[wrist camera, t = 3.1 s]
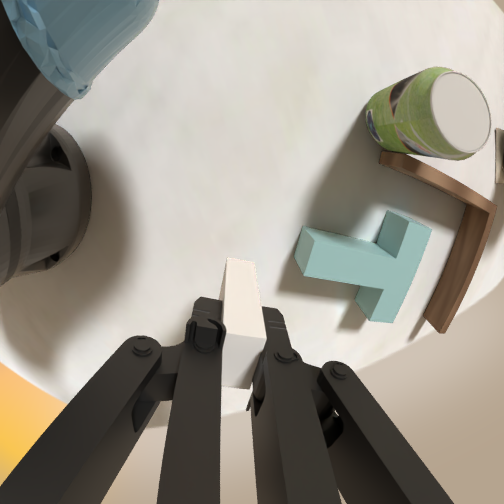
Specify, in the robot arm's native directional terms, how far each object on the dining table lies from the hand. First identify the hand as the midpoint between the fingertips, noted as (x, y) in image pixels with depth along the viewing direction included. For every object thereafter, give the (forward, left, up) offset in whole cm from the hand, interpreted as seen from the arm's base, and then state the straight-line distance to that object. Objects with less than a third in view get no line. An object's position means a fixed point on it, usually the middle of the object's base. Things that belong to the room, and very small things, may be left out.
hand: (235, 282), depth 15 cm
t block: (+12, 0, -10) cm, 15 cm away
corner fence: (+19, +2, -10) cm, 21 cm away
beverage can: (+11, +13, -10) cm, 20 cm away
